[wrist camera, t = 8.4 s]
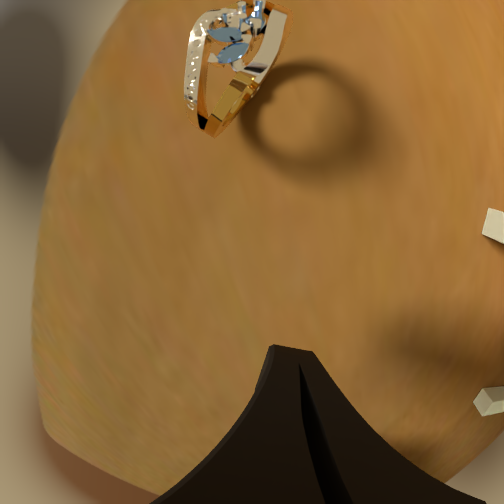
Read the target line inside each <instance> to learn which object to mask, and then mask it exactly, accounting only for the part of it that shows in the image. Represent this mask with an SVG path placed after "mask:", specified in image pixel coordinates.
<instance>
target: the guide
mask: <svg viewBox="0 0 504 504" xmlns="http://www.w3.org/2000/svg"><path fill="white" fill-rule="evenodd" d="M482 234H483V235H485V236H487V237H490V238H492V239H494V240H496V241H498V242H500V243H502V244H504V212H501V211H498V210H495V209H491V208H488V211H487V215H486V219H485V223H484V227H483V230H482ZM473 403H474V405H475V406H476V408H477V409H478V411H479V412H480V414H481V415H482V416H486V415H491V414H496V413H501V412H504V386H500V387H489V388H482V390H481V391H480V392H479V394H478V395H477V397H476V398H475V400H474V401H473Z"/></svg>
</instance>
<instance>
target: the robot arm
mask: <svg viewBox="0 0 504 504" xmlns="http://www.w3.org/2000/svg"><path fill="white" fill-rule="evenodd" d="M150 504H486V502H485V501H482V500H480V499H477V498H475V497H472V496H470V495H467V494H465V493H462V492H460V491H458V490H455V489H453V488H451V487H450V486H448V485H446V484H444V483H442V482H440V481H439V480H437V479H435V478H433V477H432V476H430V475H429V474H427V473H426V472H424V471H422V470H421V469H419V468H418V467H417V466H415V465H414V464H413V463H411V462H410V461H409V460H407V459H406V458H405V457H403V456H402V455H401V454H400V453H398V452H397V451H396V450H395V449H394V448H392V447H391V446H390V445H389V444H388V443H387V442H386V441H385V440H384V439H383V438H382V437H381V436H380V435H379V434H377V433H376V432H375V431H374V430H373V429H372V427H371V426H370V425H369V424H368V423H367V422H366V421H365V420H364V419H363V418H362V416H361V415H360V414H359V413H358V412H357V411H356V410H355V408H354V407H353V406H352V405H351V403H350V402H349V401H348V400H347V398H346V397H345V396H344V394H343V393H342V392H341V391H340V389H339V388H338V386H337V385H336V384H335V382H334V381H333V380H332V378H331V377H330V375H329V374H328V372H327V371H326V370H325V368H324V367H323V365H322V364H321V362H320V361H319V360H318V358H317V357H316V355H315V354H314V353H313V351H307V350H301V349H296V348H290V347H285V346H280V345H275V344H273V345H271V346H269V349H268V352H267V355H266V358H265V361H264V364H263V367H262V370H261V373H260V376H259V379H258V382H257V385H256V388H255V393H254V394H253V396H252V398H251V400H250V401H249V403H248V405H247V406H246V408H245V409H244V411H243V412H242V414H241V415H240V417H239V418H238V420H237V421H236V422H235V424H234V425H233V426H232V428H231V429H230V430H229V432H228V433H227V434H226V435H225V436H224V438H223V439H222V440H221V441H220V442H219V443H218V445H217V446H216V447H215V448H214V449H213V450H212V451H211V452H210V453H209V454H208V455H207V456H206V458H205V459H204V460H203V461H201V462H200V463H199V464H198V465H197V466H196V467H195V468H194V469H193V470H192V471H191V472H190V473H188V474H187V475H186V476H185V477H184V478H183V479H182V480H181V481H179V482H178V483H177V484H176V485H175V486H173V487H172V488H171V489H170V490H168V491H167V492H165V493H164V494H163V495H161V496H160V497H158V498H157V499H156V500H154V501H153V502H151V503H150Z"/></svg>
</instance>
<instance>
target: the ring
mask: <svg viewBox="0 0 504 504" xmlns="http://www.w3.org/2000/svg"><path fill="white" fill-rule="evenodd" d="M221 22H222V27H221V28H217V26H218V25H219V24H220V23H221ZM292 24H293V12H292V10H290V9H288V8H286V7H284V6H282V5H279V4H277V5H274V4H272V3H270V2H267V1H266V0H241V1H238V2H236V3H234V4H232V5H230V6H228V7H227V8H223V9H213V10H210V11H207V12H206V13H204V14H203V15H202V16H201V17H200V18H199V19H198V20H197V21H196V23H195V25H194V27H193V29H192V32H191V35H190V40H189V45H188V51H187V59H186V68H185V79H184V101H185V108H186V113H187V116H188V119H189V121H190V123H191V124H192V125H193V126H195V127H196V128H198V129H199V130H201V131H202V132H205V133H206V134H208V135H210V136H211V137H213V138H216V137H217V136H218V135H219V134H220V133H222V132H223V130H224V129H225V128H226V127H227V126H228V125H229V124H230V123H231V122H232V121H233V119H234V118H235V117H236V116H237V115H238V113H239V112H240V111H241V110H242V109H243V107H244V106H245V105H246V104H247V102H248V101H249V100H250V98H253V97H254V96H255V94H256V93H257V92H258V90H259V89H260V85H261V84H262V83H263V81H264V80H265V78H266V77H267V75H268V74H269V72H270V71H271V69H272V67H273V66H274V64H275V62H276V61H277V59H278V57H279V55H280V53H281V51H282V50H283V48H284V45H285V43H286V41H287V39H288V36H289V34H290V31H291V28H292ZM216 28H217V29H216ZM260 35H262V37H261V41H260V45H259V48H258V50H257V53H256V55H255V56H254V58H253V59H252V60H251V61H250V62H248V63H244V60H243V59H244V58H245V57H246V56H247V54H248V52H249V51H252V49H253V47H254V42H255V41H257V40H258V39H259V38H260ZM214 42H216V43H217V44H219V45H222V46H226V47H225V48H224V49H222V50H221V52H220V53H219V54H218V56H216V55H215V54H213V53H211V54H210V49H211V43H214ZM209 63H210V64H212V65H213V66H215V67H224V66H225V65H231V67H232V69H233V70H234V71H235V72H236V75H235V76H234V78H233V80H232V81H231V83H230V84H229V86H228V87H227V89H226V90H225V92H224V93H223V95H222V96H221V98H220V100H219V101H218V103H217V105H216V106H215V108H214V110H213V112H212V113H211V115H210V116H209V117H208V114H207V106H206V85H207V73H208V64H209Z"/></svg>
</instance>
